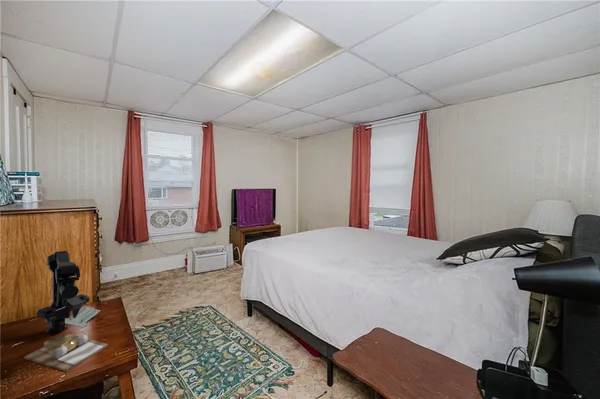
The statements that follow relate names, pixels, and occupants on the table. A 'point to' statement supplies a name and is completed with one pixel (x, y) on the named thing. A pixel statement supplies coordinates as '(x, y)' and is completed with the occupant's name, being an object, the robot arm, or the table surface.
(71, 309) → the robot arm
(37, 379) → the table surface
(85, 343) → the hinge base
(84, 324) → the metal bracket
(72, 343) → the perfume bottle
